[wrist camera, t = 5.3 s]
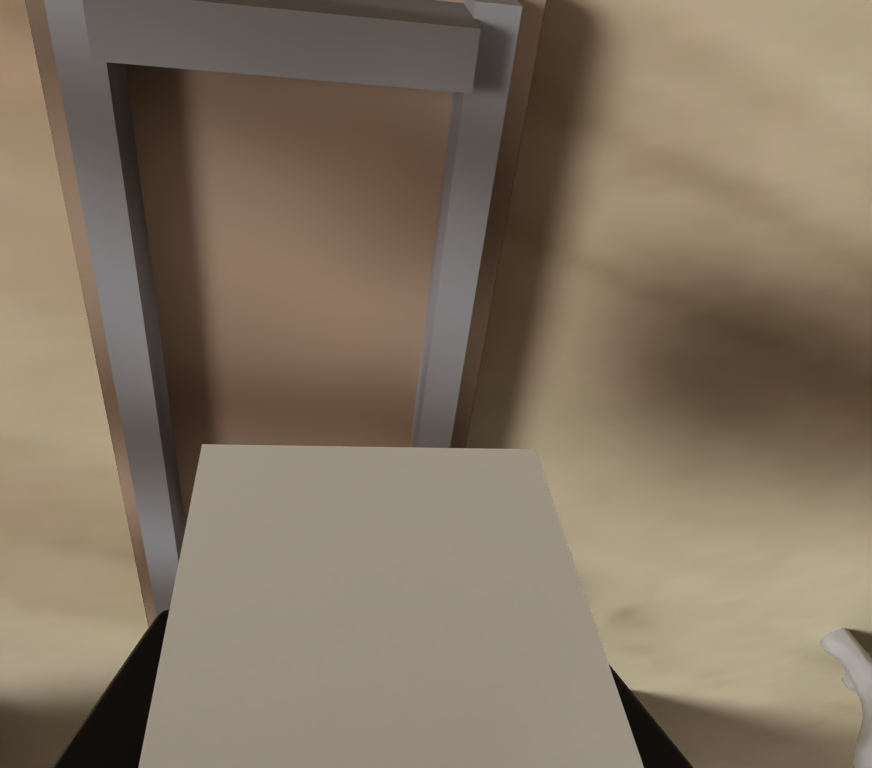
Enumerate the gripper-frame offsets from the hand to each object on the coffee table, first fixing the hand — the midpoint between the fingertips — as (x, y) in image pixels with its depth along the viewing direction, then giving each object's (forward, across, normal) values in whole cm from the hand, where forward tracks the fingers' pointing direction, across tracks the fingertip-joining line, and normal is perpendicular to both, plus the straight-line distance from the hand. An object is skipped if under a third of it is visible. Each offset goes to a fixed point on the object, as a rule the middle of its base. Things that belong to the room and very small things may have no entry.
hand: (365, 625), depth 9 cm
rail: (+11, +1, +5) cm, 12 cm away
